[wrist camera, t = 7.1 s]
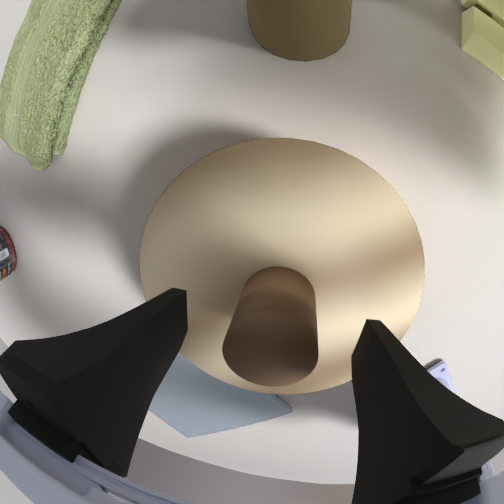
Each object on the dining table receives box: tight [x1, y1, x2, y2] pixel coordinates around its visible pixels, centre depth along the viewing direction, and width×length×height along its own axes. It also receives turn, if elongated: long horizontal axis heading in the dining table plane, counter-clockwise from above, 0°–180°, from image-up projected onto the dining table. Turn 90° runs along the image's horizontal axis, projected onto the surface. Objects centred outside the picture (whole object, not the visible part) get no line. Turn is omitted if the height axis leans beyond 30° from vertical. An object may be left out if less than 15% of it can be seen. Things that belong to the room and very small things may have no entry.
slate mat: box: [148, 352, 292, 438], centre depth 25 cm, size 16×16×1 cm
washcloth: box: [0, 0, 121, 171], centre depth 13 cm, size 13×18×3 cm
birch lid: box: [139, 138, 425, 394], centre depth 12 cm, size 15×15×5 cm
